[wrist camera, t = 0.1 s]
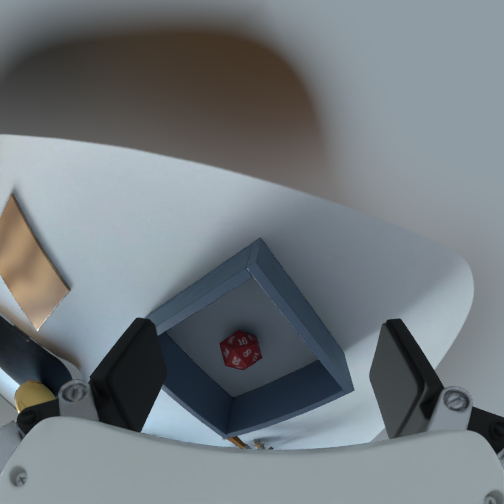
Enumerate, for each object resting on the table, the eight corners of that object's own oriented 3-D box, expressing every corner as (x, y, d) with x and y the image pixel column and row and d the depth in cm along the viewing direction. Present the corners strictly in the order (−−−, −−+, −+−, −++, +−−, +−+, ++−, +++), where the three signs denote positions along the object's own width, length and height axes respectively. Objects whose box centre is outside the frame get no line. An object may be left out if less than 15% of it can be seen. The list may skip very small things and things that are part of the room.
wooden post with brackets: (272, 454, 34) (261, 472, 29) (235, 423, 36) (220, 439, 32) (280, 450, 33) (268, 468, 29) (241, 419, 35) (227, 435, 31)
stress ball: (53, 379, 35) (26, 413, 26) (73, 413, 38) (52, 445, 29) (24, 366, 36) (-2, 394, 27) (44, 399, 39) (22, 427, 30)
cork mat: (-11, 250, 28) (-12, 251, 28) (12, 193, 25) (10, 194, 24) (38, 330, 32) (37, 331, 31) (70, 290, 28) (68, 291, 28)
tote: (144, 317, 28) (120, 349, 22) (260, 237, 24) (255, 261, 18) (232, 403, 31) (225, 439, 25) (343, 352, 27) (354, 390, 22)
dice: (228, 317, 27) (221, 341, 23) (270, 332, 27) (268, 357, 23) (217, 344, 28) (210, 368, 24) (256, 357, 28) (253, 383, 24)
